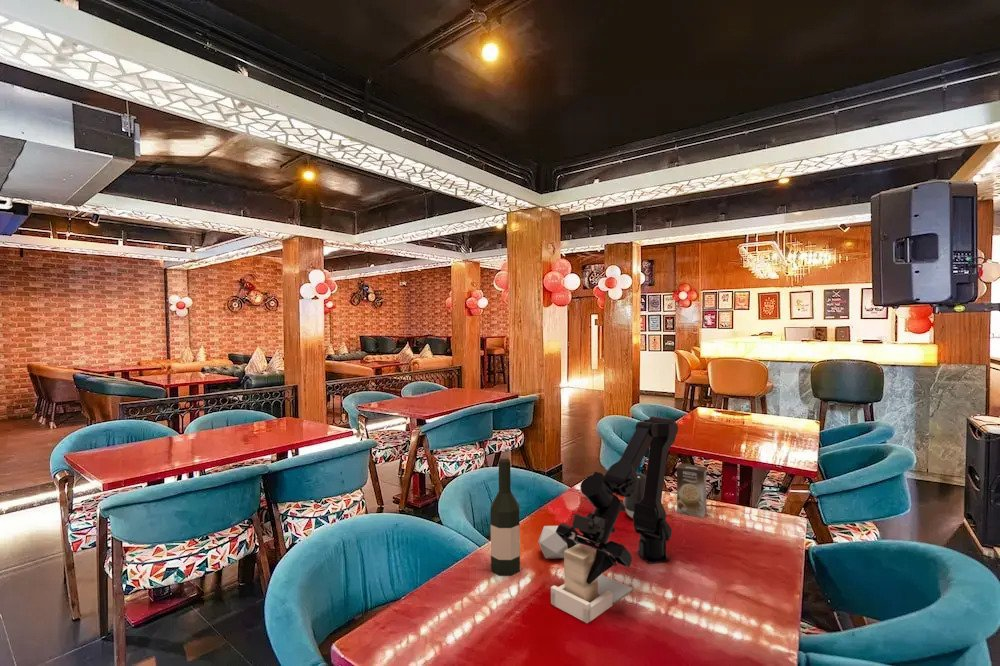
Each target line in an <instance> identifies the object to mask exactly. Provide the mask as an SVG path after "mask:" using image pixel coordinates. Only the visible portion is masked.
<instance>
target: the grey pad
mask: <svg viewBox="0 0 1000 666" xmlns="http://www.w3.org/2000/svg"><path fill="white" fill-rule="evenodd" d="M633 590H634V588H633V587H631V586H629V585H627V584H624V583H621V582H620V581H617V580H614V579H613V578H610V577H608V576H605V575H603V574H601V575H600V576H598V597H599V596H601V595H602V594H604V593H605V592H607V591H610V592H612V604H616V603H617V602H618V601H620V600H621V599H623V598H624V597H625V596H627V595H628V594H629V593H631V592H633Z"/></svg>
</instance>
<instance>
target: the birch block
mask: <svg viewBox="0 0 1000 666" xmlns="http://www.w3.org/2000/svg"><path fill="white" fill-rule="evenodd" d="M595 559H596V549H594V548H591V547H589V546H586V545H583V544H577V545H575V546H573V547H571V548H569V549H567V550H565V551H564V558H563V564H564V565H563V568H564V569H563V573H564V575H563V576H564V579H563V580H564V583H563V584H564V586H565V591H567V592H569V593H571V594H573V595H575V596H577V597H579V598H581V599H583V600H585V601H587V602H589V603H590V602H592V601H593V600H595V599H596V598H598V597H599V596H598V577H597V578H596V579H595V580H594V581H593V582H592V583H590V584H588V583H587V582H586V581H587V578H588V575H589V573H590V570H591V568H592V566H593V564H594V561H595Z"/></svg>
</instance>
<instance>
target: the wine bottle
mask: <svg viewBox="0 0 1000 666" xmlns="http://www.w3.org/2000/svg"><path fill="white" fill-rule="evenodd" d="M509 458H510V457H509V456H500V458H499V460H498V492H497V494H496V496H495V497H494V499H493V501H492V503H491V504H490V572H492V573H493V574H496V575H497V576H500V577H501V576H502V577H503V576H504V577H505V576H507V577H512V576H513V575H516V574H518V573H520V572H521V566H520V565H521V556H520V555H521V549H520V548H521V546H520V545H521V544H520V539H521V538H520V531H521V530H520V529H521V528H520V504H519V502H518V501H517V499H516V496H515V495H514V494H513V493H512V489H511V486H512V485H511V484H512V482H511V477H512V476H511V459H509Z"/></svg>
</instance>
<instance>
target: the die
mask: <svg viewBox="0 0 1000 666" xmlns="http://www.w3.org/2000/svg"><path fill="white" fill-rule="evenodd" d="M558 526H559V525H544V526H543V528H542V531H541V534H540V536H539V537H538V538H539V539H538V541H537V542H538V545H539V547H540V549H541V552H542V554H543V557H544V559H551V560H552V559H564V551H565V550H567V549H568V546H567V543H566V542H564V541H563V539H562V538H561V537H560V536H559V535H558V534H557V533H556V530H557V527H558Z"/></svg>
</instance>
